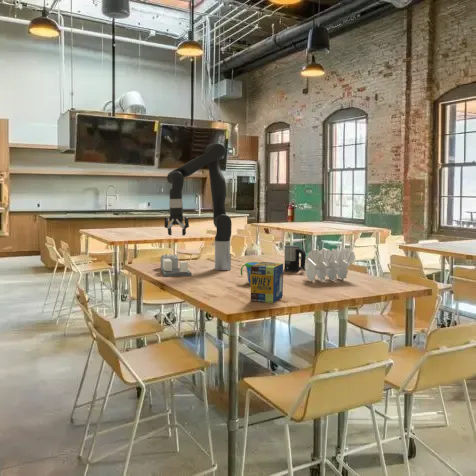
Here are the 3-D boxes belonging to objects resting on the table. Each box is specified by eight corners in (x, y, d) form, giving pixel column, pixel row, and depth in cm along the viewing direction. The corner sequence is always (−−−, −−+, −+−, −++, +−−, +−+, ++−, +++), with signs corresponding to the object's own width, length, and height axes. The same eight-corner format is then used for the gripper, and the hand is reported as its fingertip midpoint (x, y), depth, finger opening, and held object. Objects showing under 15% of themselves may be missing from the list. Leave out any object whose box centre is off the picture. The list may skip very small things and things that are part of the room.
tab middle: (171, 269, 303) (171, 260, 303) (172, 270, 299) (171, 261, 299) (164, 269, 302) (164, 260, 302) (164, 271, 298) (164, 261, 298)
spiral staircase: (303, 287, 281) (344, 282, 289) (317, 278, 265) (360, 273, 274) (295, 255, 287) (336, 251, 295) (308, 244, 271) (351, 240, 279)
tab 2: (186, 270, 299) (186, 261, 298) (187, 272, 295) (187, 262, 294) (179, 271, 298) (179, 261, 297) (180, 272, 294) (180, 262, 293)
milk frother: (281, 271, 312) (282, 246, 311) (289, 267, 327) (289, 243, 325) (305, 272, 307) (305, 247, 305) (311, 269, 321) (312, 244, 320)
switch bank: (186, 270, 313) (186, 267, 313) (191, 275, 294) (191, 272, 294) (161, 271, 309) (161, 268, 309) (164, 276, 291) (164, 273, 291)
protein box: (250, 301, 228) (250, 266, 227) (261, 294, 242) (261, 261, 241) (273, 303, 224) (273, 267, 223) (283, 296, 239) (283, 262, 237)
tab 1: (169, 268, 309) (169, 258, 309) (170, 269, 305) (170, 259, 305) (163, 268, 308) (162, 259, 308) (163, 269, 304) (163, 259, 304)
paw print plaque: (162, 270, 314) (162, 256, 313) (159, 267, 326) (158, 253, 325) (179, 269, 317) (179, 255, 316) (175, 266, 329) (175, 252, 328)
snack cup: (272, 281, 276) (272, 262, 275) (267, 285, 266) (267, 265, 265) (244, 280, 281) (244, 261, 280) (238, 283, 271) (238, 264, 270)
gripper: (190, 206, 300) (191, 234, 302) (167, 206, 305) (168, 234, 306) (184, 207, 293) (185, 236, 295) (161, 207, 298) (162, 235, 299)
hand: (176, 235), depth 300 cm, fingers open, 8 cm apart
